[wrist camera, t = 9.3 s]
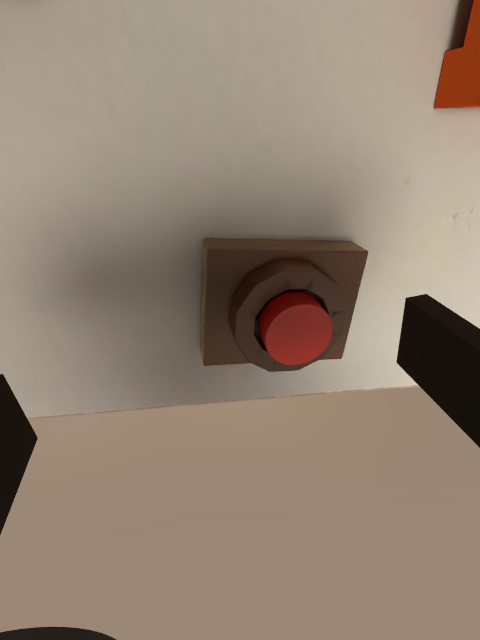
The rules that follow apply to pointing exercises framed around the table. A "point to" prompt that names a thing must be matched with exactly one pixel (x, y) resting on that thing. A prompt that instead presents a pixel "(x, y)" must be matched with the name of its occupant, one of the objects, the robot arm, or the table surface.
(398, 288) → the table surface
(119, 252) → the table surface
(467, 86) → the orange phone stand
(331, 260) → the button block
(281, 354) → the power button
